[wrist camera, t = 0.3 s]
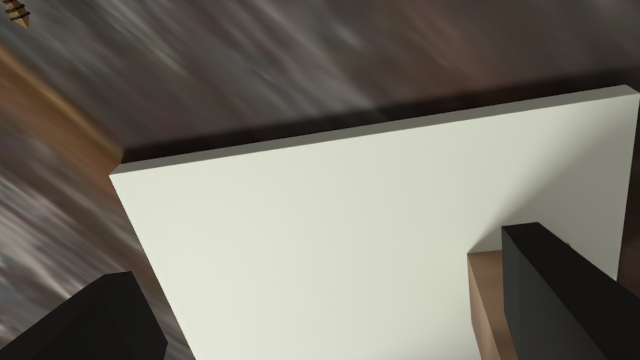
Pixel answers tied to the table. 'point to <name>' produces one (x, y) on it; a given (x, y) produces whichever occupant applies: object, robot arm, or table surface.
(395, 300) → the board
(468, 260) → the walnut block
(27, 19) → the game die
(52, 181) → the table surface
